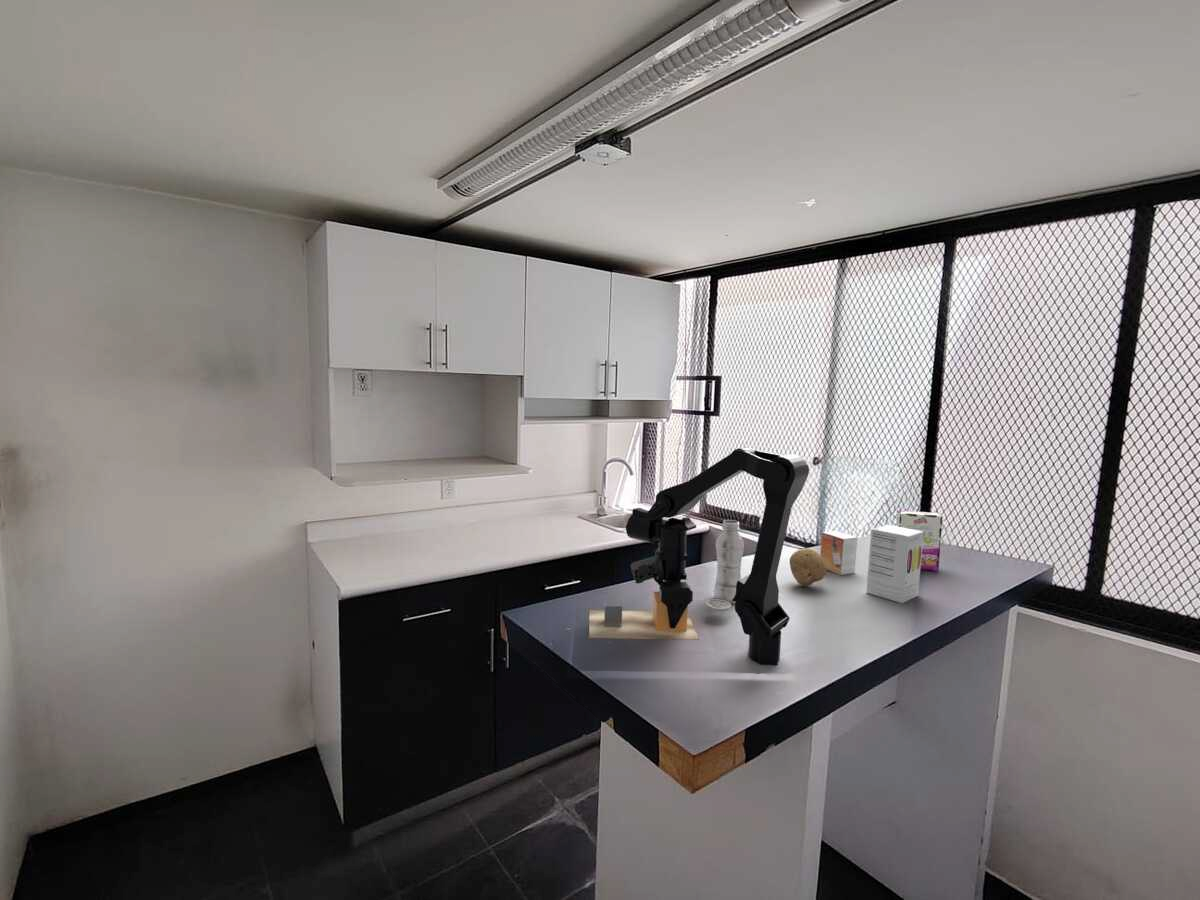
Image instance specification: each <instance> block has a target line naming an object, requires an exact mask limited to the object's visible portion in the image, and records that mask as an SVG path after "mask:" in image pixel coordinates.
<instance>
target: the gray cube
mask: <svg viewBox="0 0 1200 900" xmlns="http://www.w3.org/2000/svg"><path fill="white" fill-rule="evenodd" d="M603 610H604V626H605V627H622V611H623V603H622V599H604V609H603Z"/></svg>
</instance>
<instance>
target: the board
mask: <svg viewBox="0 0 1200 900" xmlns="http://www.w3.org/2000/svg"><path fill="white" fill-rule="evenodd" d="M588 618H589V619H588V621H589V622H588V623H589V625H588V626H589V627H588V629H589V630H588V638H589V639H625V640H626V639H628V640H629V639H630V640H632V639H633V640H635V639H636V640H639V639H640V640H641V639H642V640H644V639H646V640H650V639H651V640H692V641H693V640H699V637H698V635H697V632H696V629H695V627H694V625H693V622H692V620H691V617H690V615H689V612H688V611H687V631H656V629H655V625H654V621H653V610H649V611H648V610H622V627H605V626H604V609H603V610H602V609H601V610H600V609H599V610H597V609H596V610H595V609H594V610H593V609H592V610H591V609H590V610H589V617H588Z"/></svg>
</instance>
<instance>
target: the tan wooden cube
mask: <svg viewBox="0 0 1200 900" xmlns="http://www.w3.org/2000/svg"><path fill="white" fill-rule="evenodd" d="M652 593H653V596H652V597H653V598H652V611H653V621H654V625H655V629H656V631H687V612H688V611H689V610H688V606H689V605H688V606H687V608H686V609H685V611H684V613H683V615H682V616H681V618H680V620H679V622H678V624H677V626H676V628H670V626H669V619H668V612H667V606H666V605H665V604H664V603H662V602H661V600H660V597H659V596H660V595H659V591H653V592H652Z"/></svg>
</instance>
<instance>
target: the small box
mask: <svg viewBox="0 0 1200 900" xmlns="http://www.w3.org/2000/svg"><path fill="white" fill-rule="evenodd" d="M857 547H858V537H857V536H854V535H850V534H846V533H843V532H840V531H837V530H830V531H823V532H821V544H820V553H819V555H820V556H821V557H822V559H823V561H824V564H825V566H826V571H827V570H828V571H830V572H833V573H835V574H837V575H839V576H843V575H844V576H845V575H848V574H854V573H855V571H856V559H857V549H858V548H857Z"/></svg>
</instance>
